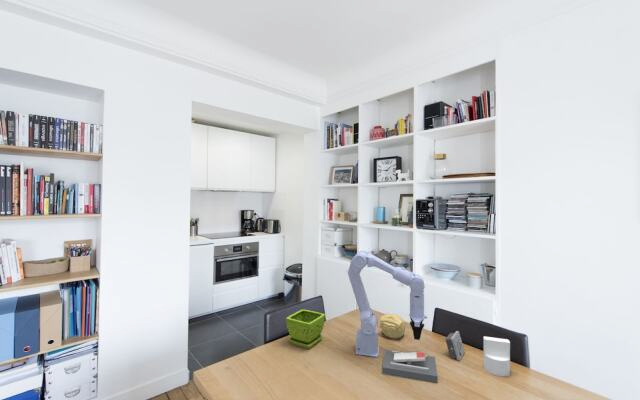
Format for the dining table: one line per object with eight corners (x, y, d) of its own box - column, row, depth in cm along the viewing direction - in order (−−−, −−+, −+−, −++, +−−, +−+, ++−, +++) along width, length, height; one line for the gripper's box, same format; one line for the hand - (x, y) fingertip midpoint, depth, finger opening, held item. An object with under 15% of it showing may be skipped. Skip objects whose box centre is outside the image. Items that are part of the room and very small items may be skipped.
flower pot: (326, 340, 143) (326, 313, 142) (309, 353, 131) (309, 324, 131) (302, 333, 150) (302, 308, 150) (284, 344, 138) (284, 317, 138)
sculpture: (377, 337, 145) (377, 315, 145) (386, 328, 155) (386, 307, 155) (400, 343, 139) (400, 320, 139) (408, 334, 149) (408, 312, 149)
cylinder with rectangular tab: (506, 365, 120) (506, 336, 120) (512, 378, 112) (512, 346, 112) (481, 361, 123) (481, 332, 123) (485, 373, 115) (485, 343, 115)
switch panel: (382, 373, 115) (382, 361, 115) (385, 355, 128) (385, 344, 128) (437, 383, 109) (437, 370, 109) (434, 362, 123) (434, 351, 123)
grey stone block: (459, 362, 123) (457, 339, 124) (446, 359, 126) (444, 336, 127) (465, 352, 131) (462, 331, 131) (452, 350, 134) (450, 329, 134)
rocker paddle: (394, 362, 118) (393, 359, 118) (394, 355, 123) (394, 352, 123) (425, 360, 115) (424, 357, 115) (424, 354, 119) (424, 351, 120)
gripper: (427, 312, 117) (427, 346, 117) (426, 300, 131) (426, 330, 131) (409, 310, 119) (409, 343, 119) (409, 298, 133) (409, 328, 133)
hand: (416, 336), depth 125 cm, fingers open, 4 cm apart
